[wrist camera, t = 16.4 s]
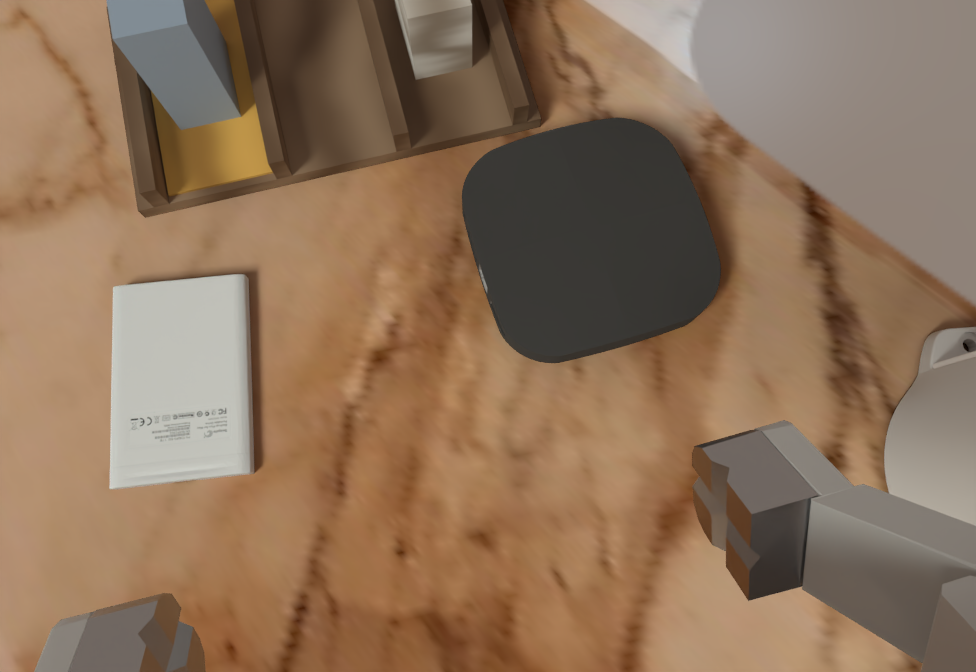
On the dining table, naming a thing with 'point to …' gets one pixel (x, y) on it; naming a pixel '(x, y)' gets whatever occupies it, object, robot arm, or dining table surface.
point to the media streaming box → (589, 239)
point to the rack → (330, 95)
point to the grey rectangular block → (178, 57)
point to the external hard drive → (181, 381)
